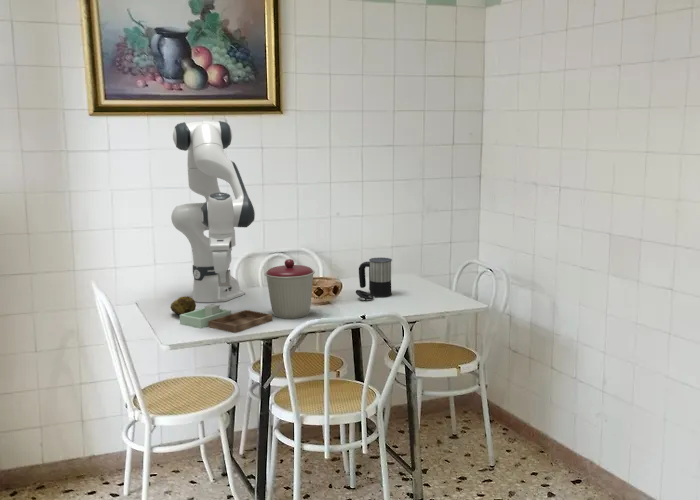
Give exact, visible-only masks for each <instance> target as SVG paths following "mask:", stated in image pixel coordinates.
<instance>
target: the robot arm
mask: <svg viewBox="0 0 700 500" xmlns="http://www.w3.org/2000/svg"><path fill="white" fill-rule="evenodd" d="M172 140H173V143H174V145H175V147H176V148H177V149H178V150H179V151H186V152H187V175H188V176H187V178H188V179H187V180H188V187H189V189H190V190H191V192H193V193H196V194H198V195H200V196H202V197H204V198H205V202H194V203H185V204H180V205H176V206H175V207H174V208H173V210H172V213H171V224H172V225H173V227H174V228H175V229H176V230H177V231H179V232H181V234H183V235H184V236H185V237H186V239H187V240H188V242H189V245H190V247H191V248H190V249H191V252H192V253H191V254H192V260H193V264H192V275H193V285H192V286H193V289H192V295H191V296H192V297H191V298H193V300H194V301H195V303H196V302H197V303H216V302H223V303H224V302H227V301H231V300H234V299H235V298H238V297H240V296H243V295H246V292H245V290H243V289H240V286H239V281H238V279H236V278H235V277H234V276H232V275H231V274H230V276H231V285H230V286H224V287H219V286H218V273H219V275H220V282H221V283H225V282H226V271H227V270H229V268H230V265H231V262H232V251H233V247H236V229H235V228H248V227H249V226H250V225H251V224H252V223H254V221H255V217H256V216H255V215H256V211H255V207H254V206H253V205H254V204H253V203H252V201H251V199H250V197H249V195H248V191H247V190H246V187H245V184H244V182H243V179H242V175H241V173H240V171H239V169H238V166H237V164H236V163H235V162H234V161H232V160H230V159H229V158H228V156H227V155H226V153H225V149H227V148H228V147H229V146H231V143H232V140H233V132H232V129H231V126H230V124H228V122H226V121H221V120H219V121H213V120H202V121H190V122H180V123H177V124H176V125H175V126H174V129H173V133H172ZM218 179H221V180H223V181H225V182H227V183H228V184H229V185H230V188H231V191H232V193H233V196H234V199H232V196H231V195H230V194H229V193H227V192H221V190H220V187H219V182H218ZM205 231H208V236H206V235H205V233H204V232H205Z"/></svg>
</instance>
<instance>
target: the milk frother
mask: <svg viewBox="0 0 700 500" xmlns="http://www.w3.org/2000/svg"><path fill="white" fill-rule="evenodd" d="M392 261H393V259H392V258H391V257H390V258H389V257H371V258H369V260H368V261H364V262H362V263H361V264H360V265H359V266H358V281H359V287H360V288H361V289H364V288H365V287H366V286H367V280H366V268H369V269H368V281H369V282H368V285H369V286H368V290H369V292H367V291H363V290H361V289H357V290H355V294H356V295H357V296H358V297H360V298H361V299H364V300H365V301H367V300H369V301H371V300H373V299H374V298H388V297H392V295H393V293H392Z"/></svg>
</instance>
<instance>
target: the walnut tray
mask: <svg viewBox="0 0 700 500" xmlns="http://www.w3.org/2000/svg"><path fill="white" fill-rule="evenodd" d="M273 320H274V318H273V314H271V313H265V312H259V311H255V310H250V309H249V310H248V309H243V310H241V311H237V312H234V313H231V314H230V315H227V316H223V317H220V318H217V319H213V320H210V321H208V322H209V326H208V328H210V329H214V330H219V331H224V332H230V333H233V334H237V333H240V332H243V331H246V330H249V329H253V328H255V327H258V326H261V325H264V324H268V323H271V322H273Z"/></svg>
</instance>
